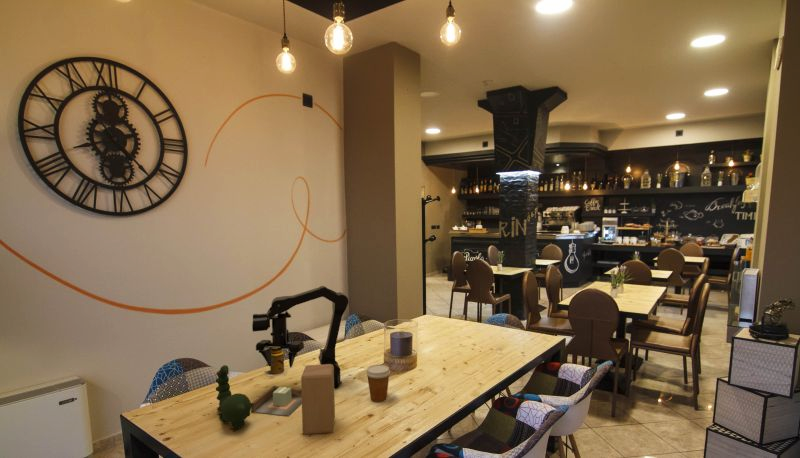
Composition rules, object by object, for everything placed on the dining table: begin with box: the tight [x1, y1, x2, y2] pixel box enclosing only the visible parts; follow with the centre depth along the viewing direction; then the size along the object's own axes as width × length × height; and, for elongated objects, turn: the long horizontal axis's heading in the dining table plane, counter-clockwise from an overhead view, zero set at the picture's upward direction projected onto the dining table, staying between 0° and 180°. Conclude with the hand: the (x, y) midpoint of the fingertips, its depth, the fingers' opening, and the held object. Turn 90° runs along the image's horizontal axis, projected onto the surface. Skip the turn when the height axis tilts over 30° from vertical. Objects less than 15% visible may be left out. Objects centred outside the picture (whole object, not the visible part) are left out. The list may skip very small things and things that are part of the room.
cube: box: [273, 386, 292, 407], centre depth 153 cm, size 5×5×5 cm
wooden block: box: [300, 364, 336, 435], centre depth 136 cm, size 10×10×20 cm
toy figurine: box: [215, 365, 252, 430], centre depth 141 cm, size 9×19×25 cm
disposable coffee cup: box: [365, 364, 391, 403], centre depth 156 cm, size 10×10×12 cm
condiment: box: [264, 348, 287, 378], centre depth 185 cm, size 7×8×12 cm
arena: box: [250, 385, 302, 417], centre depth 153 cm, size 15×15×4 cm
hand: (280, 366), depth 163 cm, fingers open, 9 cm apart
